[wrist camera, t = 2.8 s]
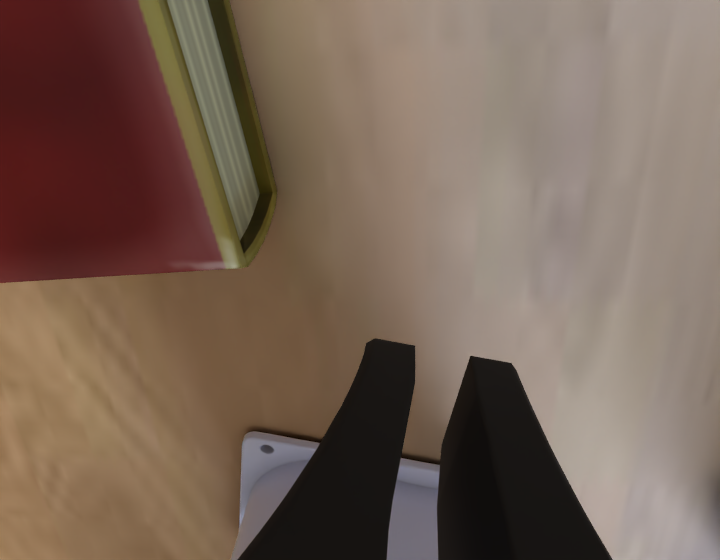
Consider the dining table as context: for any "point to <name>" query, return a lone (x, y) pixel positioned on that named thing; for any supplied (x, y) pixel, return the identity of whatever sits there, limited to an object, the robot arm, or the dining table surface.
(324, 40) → the dining table surface
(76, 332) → the dining table surface
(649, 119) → the dining table surface
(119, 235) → the hardcover book
